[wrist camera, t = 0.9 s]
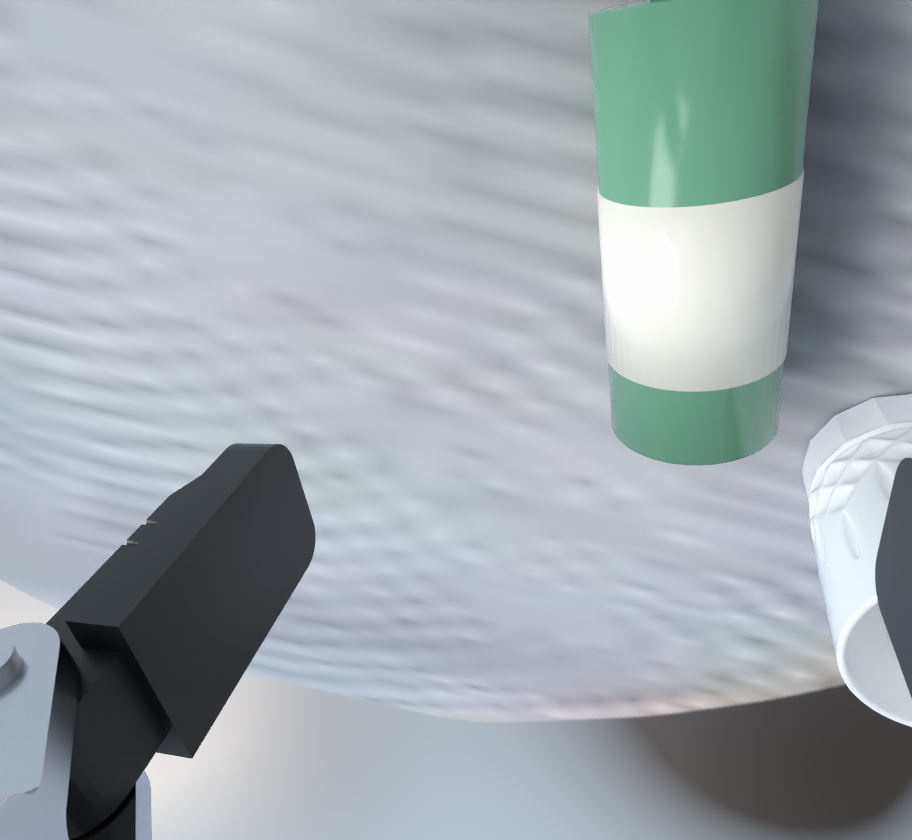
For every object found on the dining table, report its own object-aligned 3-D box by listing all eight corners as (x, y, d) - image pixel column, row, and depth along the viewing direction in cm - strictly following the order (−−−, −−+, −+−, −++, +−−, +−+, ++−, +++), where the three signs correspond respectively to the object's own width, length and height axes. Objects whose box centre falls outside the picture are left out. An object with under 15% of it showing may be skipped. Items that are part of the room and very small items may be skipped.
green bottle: (564, -220, 19) (583, -300, 14) (794, -276, 18) (909, -385, 13) (601, 388, 29) (622, 473, 24) (751, 372, 28) (805, 457, 23)
